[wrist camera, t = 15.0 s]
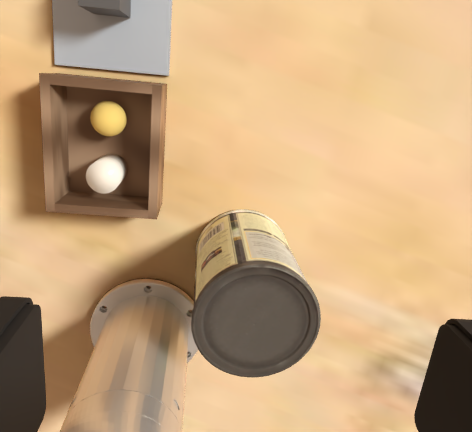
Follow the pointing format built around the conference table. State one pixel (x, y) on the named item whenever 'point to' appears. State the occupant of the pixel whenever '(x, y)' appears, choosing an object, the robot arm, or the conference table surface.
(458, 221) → the conference table surface
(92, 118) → the mustard ball
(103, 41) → the lid
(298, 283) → the coffee can
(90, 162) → the box
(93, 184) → the white capsule
